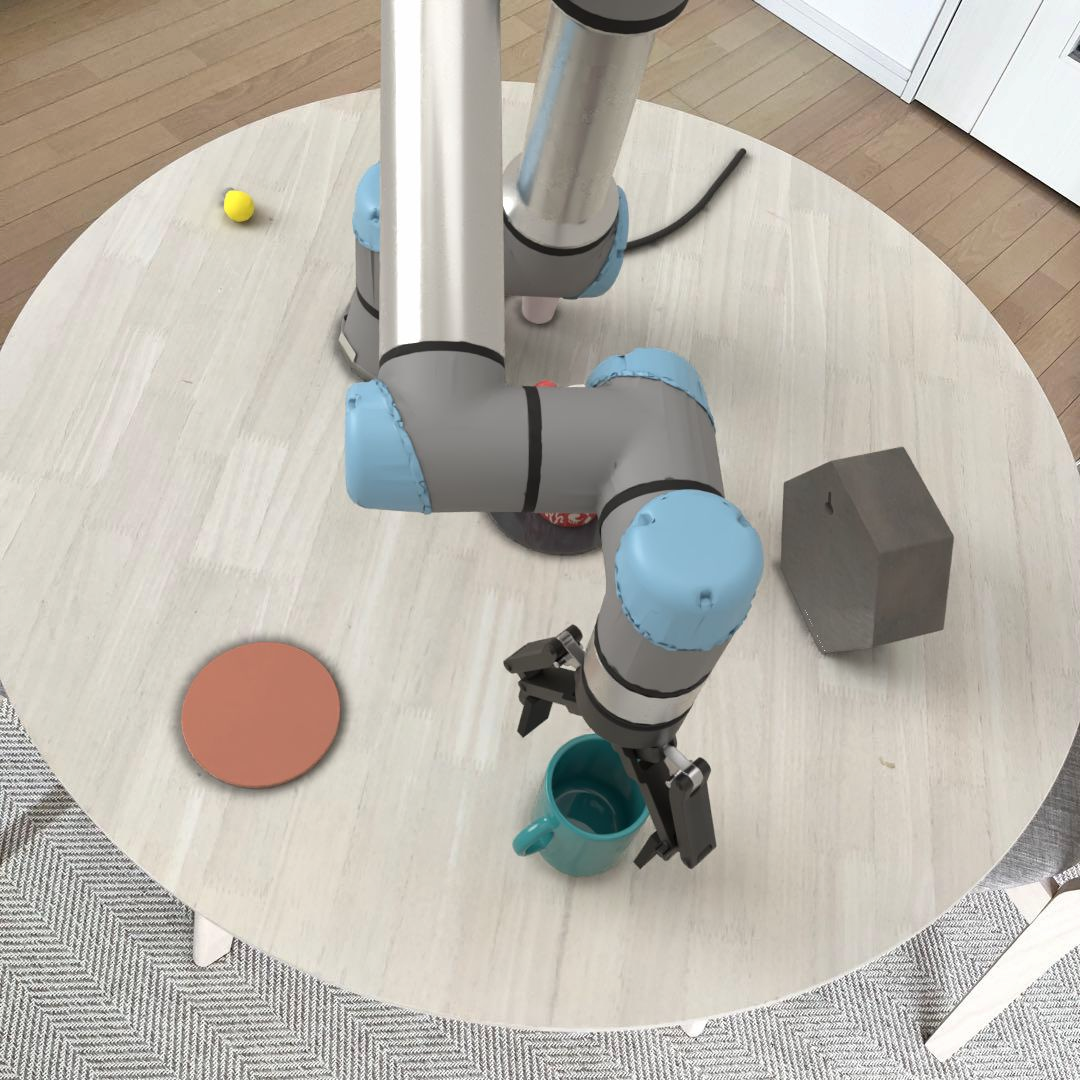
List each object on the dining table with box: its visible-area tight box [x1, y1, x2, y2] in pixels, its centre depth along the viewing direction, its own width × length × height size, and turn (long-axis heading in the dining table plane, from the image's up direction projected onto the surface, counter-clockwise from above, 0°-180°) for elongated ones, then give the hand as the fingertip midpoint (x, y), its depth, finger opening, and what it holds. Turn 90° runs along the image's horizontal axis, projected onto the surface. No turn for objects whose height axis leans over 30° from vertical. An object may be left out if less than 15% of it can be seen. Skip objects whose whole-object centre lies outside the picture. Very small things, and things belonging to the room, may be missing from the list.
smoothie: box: [521, 296, 560, 325], centre depth 126 cm, size 6×6×14 cm
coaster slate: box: [486, 512, 602, 556], centre depth 119 cm, size 16×16×1 cm
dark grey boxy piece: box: [780, 446, 955, 654], centre depth 109 cm, size 17×8×21 cm
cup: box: [511, 733, 650, 878], centre depth 95 cm, size 9×12×11 cm
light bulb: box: [223, 187, 255, 223], centre depth 134 cm, size 3×6×4 cm, turn 27°
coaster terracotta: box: [180, 641, 341, 789], centre depth 102 cm, size 14×14×1 cm
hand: (589, 788), depth 89 cm, fingers open, 13 cm apart
